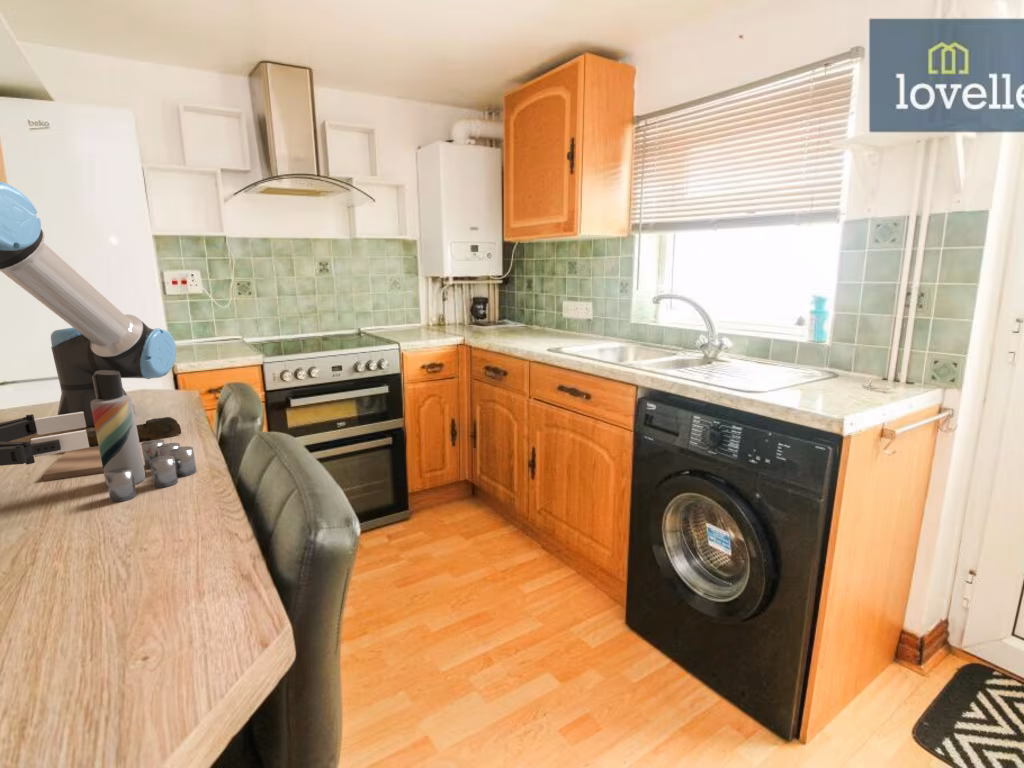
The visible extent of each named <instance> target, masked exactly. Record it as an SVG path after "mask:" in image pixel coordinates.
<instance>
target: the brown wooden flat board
mask: <svg viewBox="0 0 1024 768" xmlns="http://www.w3.org/2000/svg"><path fill="white" fill-rule="evenodd" d="M96 474H104V471H103V465H102V460H101V455H100V450H99V446H94V447H88V448H83V449H77V450H72V451H66V452H63V455H61V456H60V457H59V458H58V459H57V460H56V461H55V462H54V463H53V464H52V465H51V466H50V467H49V468H47V470H45V472H44V473H43V474H42V476H43V480H44V482H47V481H46V480H49V481H53V479H56V480H61V478H63V479H69V477H70V478H75V477H76V476H77V477H83V476H91V475H96ZM77 477H76V478H77Z"/></svg>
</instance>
